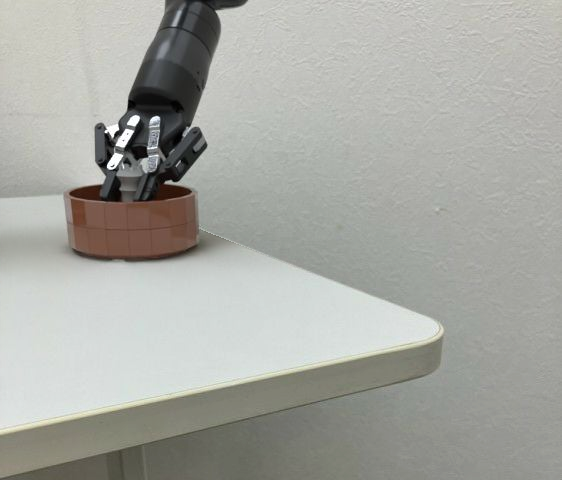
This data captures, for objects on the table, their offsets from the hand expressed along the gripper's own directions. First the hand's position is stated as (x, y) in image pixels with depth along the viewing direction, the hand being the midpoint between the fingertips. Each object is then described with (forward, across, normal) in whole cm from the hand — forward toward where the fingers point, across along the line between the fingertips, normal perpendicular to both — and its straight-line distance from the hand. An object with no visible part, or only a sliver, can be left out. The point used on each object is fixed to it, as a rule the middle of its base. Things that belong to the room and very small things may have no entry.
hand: (123, 206), depth 71 cm
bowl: (+2, 0, +5) cm, 5 cm away
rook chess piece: (+2, 0, +4) cm, 5 cm away
